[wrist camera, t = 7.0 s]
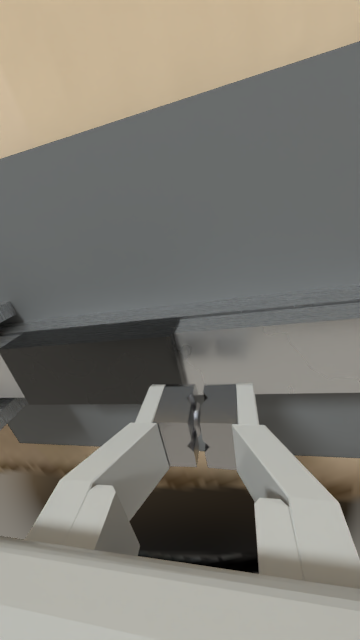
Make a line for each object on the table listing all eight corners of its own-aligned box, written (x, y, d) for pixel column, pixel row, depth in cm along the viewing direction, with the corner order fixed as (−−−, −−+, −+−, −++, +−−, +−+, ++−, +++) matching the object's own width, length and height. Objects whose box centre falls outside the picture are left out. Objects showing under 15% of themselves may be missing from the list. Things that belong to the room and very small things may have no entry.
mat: (28, 432, 21) (19, 442, 20) (-113, 203, 14) (-137, 203, 13) (522, 448, 13) (543, 466, 12) (812, -90, 6) (919, -143, 5)
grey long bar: (-20, 382, 18) (-93, 436, 14) (-66, 311, 15) (-169, 351, 11) (538, 363, 10) (736, 471, 6) (609, 217, 8) (996, 239, 4)
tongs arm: (-14, 383, 15) (-43, 405, 13) (-43, 337, 14) (-79, 355, 12) (391, 369, 10) (422, 402, 8) (406, 292, 8) (446, 314, 7)
